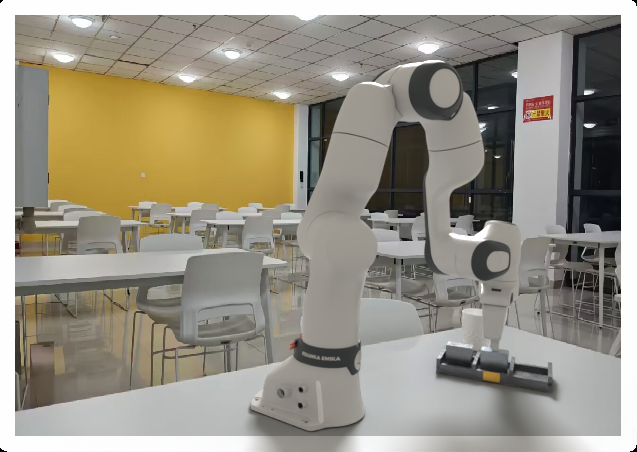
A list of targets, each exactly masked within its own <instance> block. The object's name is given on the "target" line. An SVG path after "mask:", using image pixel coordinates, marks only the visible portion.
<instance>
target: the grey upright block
mask: <svg viewBox="0 0 637 452" xmlns="http://www.w3.org/2000/svg"><path fill="white" fill-rule="evenodd" d="M480 352H481V358H480V369H481V370H487V371H493V372H498V373H504V374H507V372H508V361H509V355H510V354H509V353H510V350H509V349H502V348H499V349H498V350H492V349H491V348H490V347H489V346H488V347H483V346H482V349H481V351H480Z"/></svg>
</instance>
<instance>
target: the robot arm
mask: <svg viewBox="0 0 637 452" xmlns="http://www.w3.org/2000/svg"><path fill="white" fill-rule="evenodd" d="M334 122H335V123H334V126H333V128H332V132H331V135H330V140H329V144H328V146H327V151H326V155H325V158H324V162H323V166H322V169H321V172H320V175H319V177H318V181H317V183H316V184H315V187H314V189H313V192H312V194H311V196H310V199H309V201H308V203H307V206H306V209H305V212H304V214H303V217H302V219H301V220H300V221H299V224H298V225H297V229H296V241H297V245H298V247H299V249H300V251H301V253H302V255H304V256H305V257H306V258H307V259H308V260H310V271H309V278H308V283H307V288H306V291H305V294H304V296H303V299H302V325H301V328H302V329H301V334H300V335H299V337H296V338H295V339H293V342H291V343H289V346H290V347H289V350H290V351H292V350H293V354H292V355H290V356H289V357H288V358H286V359H284V360H283V361H282V362H280V363H279V364H277V365H276V366H274V367H273V368H272V369H271V370H270V371H269V372H268V373H267V374H266V376H265V379H264V383H263V387H262V388H261V389H260V390H259V391H258V392H257V393H256V394H255V395H254V396H253V397H252V398H251V401H250V409H251V410H252V411H254V412H256V413H260V414H263V415H265V416H268V417H270V418H272V419H275V420H279V421H281V422H284V423H287V424H289V425H292V426H295V427H297V428H300V429H302V430H305V431H309V432H313V431H318V430H323V429H325V428H335V427H337V428H338V427H345V426H349V425H351V424H354V423H357V422H359V421H360V420H361V419H363V417H364V416H365V414H366V409H365V405H364V401H363V395H362V389H361V380H360V370H361V365H362V341H361V339H360V325H361V324H360V322H361V321H360V320H361V306H362V305H361V303H362V298H363V292H364V288H365V284H366V280H367V275H368V272H369V268H370V267H371V266H372V264H374V262H375V260H376V257H377V254H378V249H379V245H378V239H377V236H376V234H375V232H374V231H373V230H372V228H371V227H370V226H369V225H368V224H367V223H366V222H365V221H364V220H363V219H361V216H362V214H363V212H364V210H365V208H366V206H367V204H368V203H369V201H370V200H371V198H372V196H373V195H374V194H375V193H376V191H377V189H378V188H379V184H380V181H381V177H382V173H383V170H384V165H385V162H386V158H387V156H388V151H389V147H390V143H391V140H392V135H393V132H394V131H393V130H395V129H394V128H395V127H396V125H397V124H398V122H405V123H416V122H419V124H420V125H421V126H422V128H423V129H424V132H425V138H426V139H425V141H426V145H427V151H428V168H427V171H426V172H425V174H424V175H423V181H422V197H423V198H422V200H423V215H424V231H425V233H424V234H425V238H424V246H423V248H424V249H423V250H424V251H423V257H424V260H425V263H426V265H427V268H428V269H429V270H430V271H431V272H432V273H433V274H437V275H442V276H452V277H457V278H463V279H466V280H468V279H469V280H472V281H478V288H477V289H478V290H477V291H478V292H477V293H478V297H479V304H481V307H482V308H481V309H482V321H483V335H484V338H486V339H489V342H490V348H491V349H492V350H498V349H500V341H501V339H502V336H503V332H504V330H505V326H506V323H507V320H508V311H509V308H510V307H512V305H513V303H514V302H515V301H518V299H519V294H520V289H519V288H520V274H519V266H520V264H521V259H522V236H521V232H520V231H521V230H520V227H519V226H518V225H517V224H515V223H513V222H509V221H502V220H493V219H492V220H487V221H486V222H485V223H484V226H483V229H482V230H480V231H479V232H476V233H475V234H473V235H464V234H457V233H456V232H455V231H454V230H453V229H452V226H451V212H450V197H451V194H452V193H453V191H455V189H458V188H460V187H462V186H464V185H466V184H469V183H470V182H472V181H473V180H474V179H475V178H476V177H477V176H478V175H479V174H480V172H481V171H482V169H483V167H484V164H485V149H484V148H485V147H484V141H483V137H482V133H481V128H480V127H481V126H480V123H479V119H478V116H477V112H476V110H475V107H474V104H473V102H472V100H471V97H470V96H469V94H468V93H466V92H465V91H464V87H463V82H462V80H461V76H460V75H459V73H458V72H457V70H456V68H455V67H453V66H452V64H450V63H448V62H446V61H442V60H432V59H431V60H426V61H422V62H412V63H410V62H409V63H405V64H402V65H401V64H400V65H398V66H396V67H393V68H389V69H384V70H383V71H381V72H380V73H378V74H377V75H376V76H374V77H373V78H372V80H370V81H364V82H359V83H357V84H355V85H353V86H352V87H350V88H349V90H348V92H347V94H346V96H345V98H344V100H343V102H342V105H341V106H340V108H339V112H338V114H337V116H336V120H335V121H334Z"/></svg>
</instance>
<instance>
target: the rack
mask: <svg viewBox="0 0 637 452" xmlns="http://www.w3.org/2000/svg"><path fill="white" fill-rule="evenodd" d="M473 347H474V345H470V344H463V343H462V342H457V341H456V342H454V341H448V340H447V342H446V345H445V346H443V347H442V349H441V350H440V352H439V354H438V356H437V358H436V363H435V365H436V366H435V373H436V374H441V375H442V374H443V375H448V376H453V377H459V378H465V379H470V380H475V379H476V381H482V382H487V383H493V384H499V385H504V386H510V387H517V388H522V389H527V390H528V389H529V390H534V391H539V392H545V393H552V391H553V378H554V377H553V375H554V374H553V362H551V361H548V362H547V366H543V365H542V366H541V365H535V364H529V363H523V362H516V356H511V357H510V358H511V359H510V360H508V372H507V374H504V373H498V372H493V371H487V370H481V369H480V358H481V351H476V354H475V355H474V351H473Z"/></svg>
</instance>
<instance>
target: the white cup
mask: <svg viewBox="0 0 637 452" xmlns="http://www.w3.org/2000/svg"><path fill="white" fill-rule="evenodd" d="M461 335H462V341H461V343H463V344H470V345H474V347H473V352H477V351H479V352H481V349H482V346H483V347H489V342H490V339H486V338H484V335H483V321H482V308H473V307H470V308H464V309H462V311H461Z"/></svg>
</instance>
